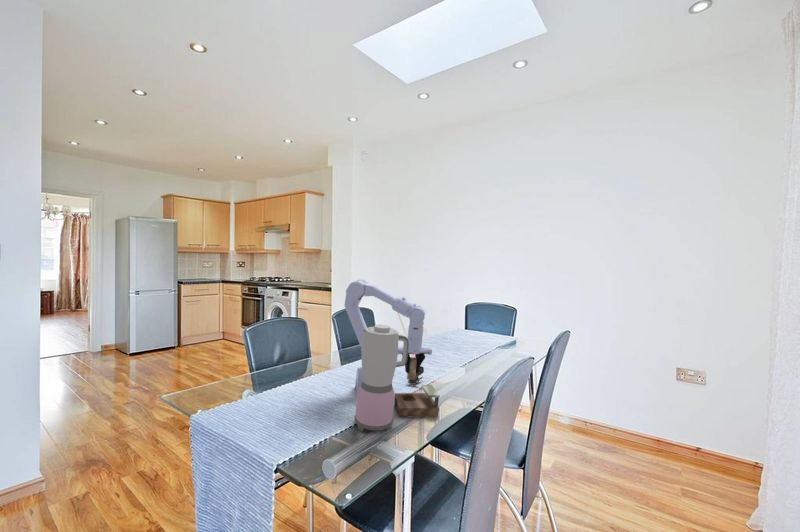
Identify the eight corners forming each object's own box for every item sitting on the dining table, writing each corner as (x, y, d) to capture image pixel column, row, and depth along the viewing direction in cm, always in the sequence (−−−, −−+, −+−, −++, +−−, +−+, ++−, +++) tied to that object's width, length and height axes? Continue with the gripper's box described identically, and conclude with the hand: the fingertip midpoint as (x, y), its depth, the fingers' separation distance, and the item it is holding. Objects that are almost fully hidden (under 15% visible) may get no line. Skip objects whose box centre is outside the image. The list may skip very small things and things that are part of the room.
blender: (357, 435, 106) (366, 330, 104) (351, 415, 118) (359, 321, 116) (406, 431, 111) (416, 331, 109) (396, 413, 122) (404, 322, 120)
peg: (408, 380, 136) (410, 359, 135) (406, 377, 139) (407, 357, 138) (416, 380, 136) (418, 359, 136) (413, 376, 140) (415, 357, 139)
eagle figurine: (427, 384, 148) (427, 373, 157) (419, 370, 147) (420, 360, 155) (411, 391, 149) (412, 380, 158) (403, 378, 148) (404, 367, 157)
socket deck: (399, 416, 120) (401, 396, 119) (392, 401, 132) (393, 382, 131) (438, 416, 123) (440, 396, 123) (427, 400, 135) (429, 382, 134)
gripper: (399, 340, 131) (396, 376, 132) (436, 341, 135) (432, 375, 136) (395, 335, 138) (391, 369, 138) (429, 336, 142) (426, 369, 142)
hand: (411, 372), depth 137 cm, fingers closed on peg, 3 cm apart
